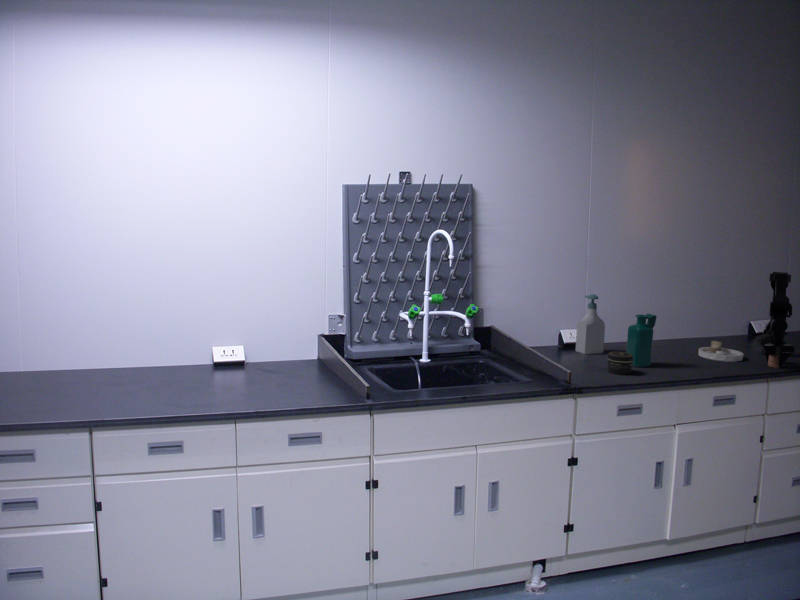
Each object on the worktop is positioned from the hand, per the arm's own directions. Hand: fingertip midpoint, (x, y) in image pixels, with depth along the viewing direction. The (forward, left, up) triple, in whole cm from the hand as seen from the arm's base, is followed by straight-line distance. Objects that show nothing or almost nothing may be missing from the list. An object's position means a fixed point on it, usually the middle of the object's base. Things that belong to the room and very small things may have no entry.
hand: (773, 364), depth 273 cm
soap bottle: (+75, -20, -2) cm, 78 cm away
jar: (+72, +17, -2) cm, 74 cm away
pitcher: (+59, +3, -2) cm, 59 cm away
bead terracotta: (0, 0, -1) cm, 1 cm away
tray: (+15, -17, -1) cm, 23 cm away
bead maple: (+15, -22, 0) cm, 27 cm away
